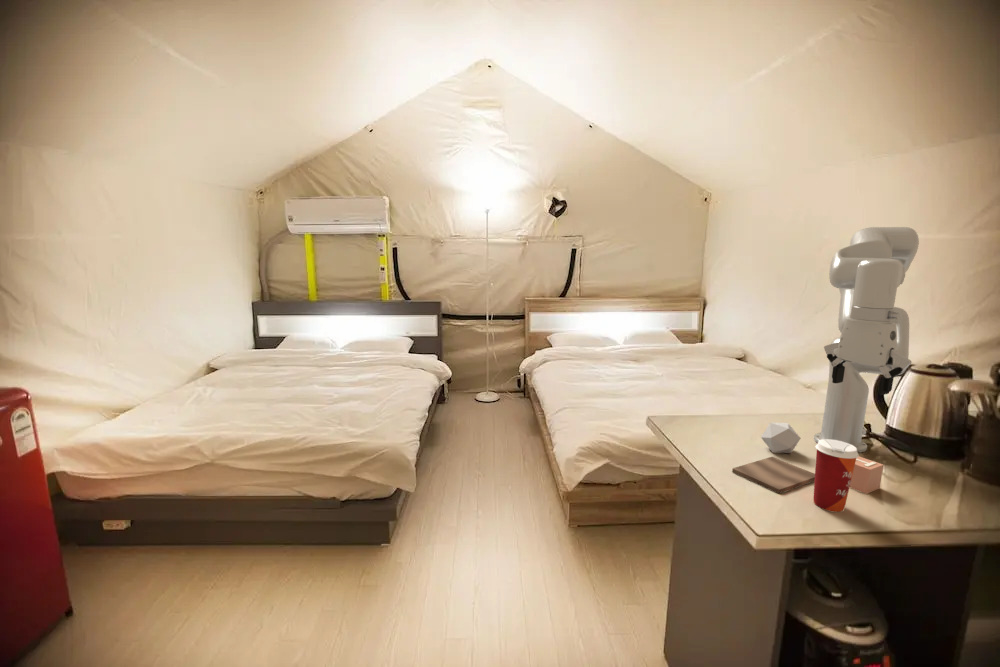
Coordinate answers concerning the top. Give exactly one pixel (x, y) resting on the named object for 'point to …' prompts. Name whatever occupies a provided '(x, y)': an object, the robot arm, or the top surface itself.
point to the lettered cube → (866, 475)
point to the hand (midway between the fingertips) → (859, 388)
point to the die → (780, 437)
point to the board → (775, 474)
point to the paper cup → (833, 473)
